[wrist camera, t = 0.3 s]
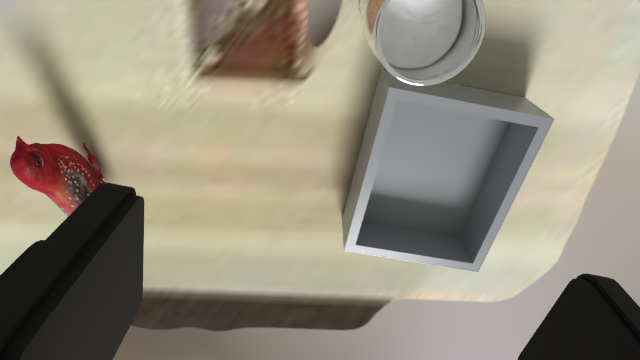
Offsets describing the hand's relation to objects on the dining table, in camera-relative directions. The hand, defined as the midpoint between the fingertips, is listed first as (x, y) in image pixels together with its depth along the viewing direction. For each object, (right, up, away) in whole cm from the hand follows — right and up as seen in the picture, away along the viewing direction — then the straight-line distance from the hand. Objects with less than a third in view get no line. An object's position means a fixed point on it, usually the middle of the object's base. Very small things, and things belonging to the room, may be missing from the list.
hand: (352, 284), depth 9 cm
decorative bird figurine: (-25, +2, +38) cm, 45 cm away
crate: (+11, +4, +36) cm, 38 cm away
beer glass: (+6, +18, +29) cm, 34 cm away
